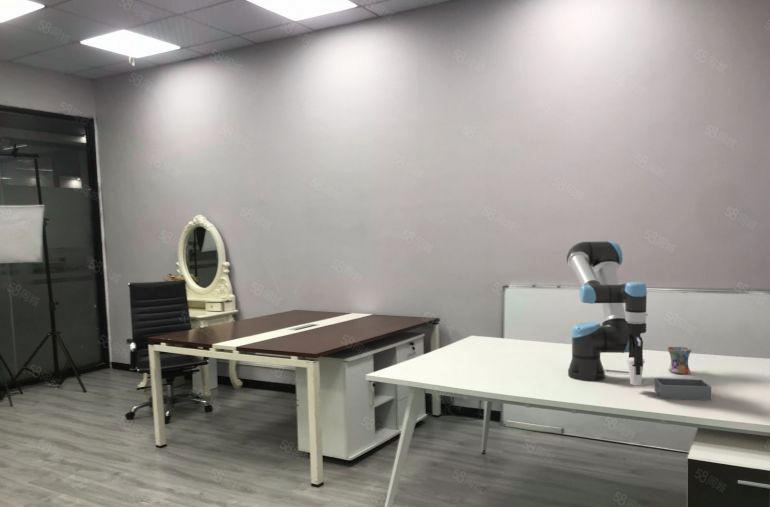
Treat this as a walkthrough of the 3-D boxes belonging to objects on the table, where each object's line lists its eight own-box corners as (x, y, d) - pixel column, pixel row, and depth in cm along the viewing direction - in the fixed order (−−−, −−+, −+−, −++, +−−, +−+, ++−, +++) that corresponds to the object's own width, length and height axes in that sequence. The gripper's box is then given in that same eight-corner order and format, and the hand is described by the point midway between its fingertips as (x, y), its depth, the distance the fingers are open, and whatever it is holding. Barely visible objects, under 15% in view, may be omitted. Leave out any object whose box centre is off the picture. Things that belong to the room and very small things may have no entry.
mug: (689, 376, 239) (689, 352, 239) (665, 373, 245) (665, 349, 244) (694, 370, 248) (694, 347, 248) (671, 367, 254) (671, 344, 254)
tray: (660, 398, 210) (660, 385, 210) (654, 390, 220) (654, 378, 220) (711, 400, 206) (711, 386, 206) (702, 392, 216) (702, 379, 216)
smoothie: (627, 385, 217) (627, 349, 216) (626, 380, 223) (626, 346, 222) (645, 386, 215) (645, 350, 214) (643, 381, 221) (644, 347, 220)
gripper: (651, 327, 207) (651, 387, 209) (640, 317, 226) (640, 373, 227) (630, 326, 209) (630, 386, 210) (620, 317, 227) (620, 372, 229)
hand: (635, 379), depth 219 cm, fingers closed on smoothie, 6 cm apart
